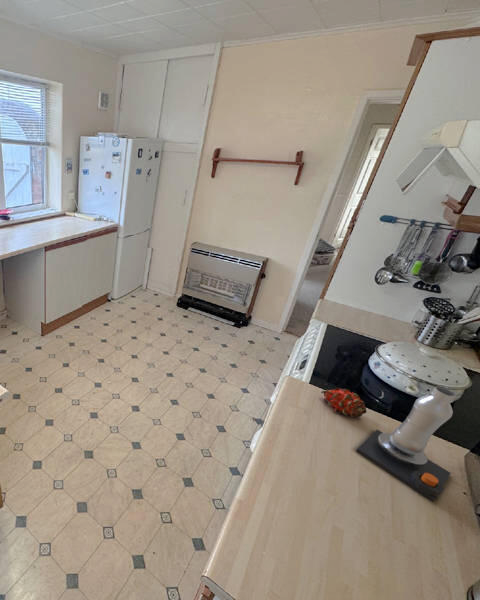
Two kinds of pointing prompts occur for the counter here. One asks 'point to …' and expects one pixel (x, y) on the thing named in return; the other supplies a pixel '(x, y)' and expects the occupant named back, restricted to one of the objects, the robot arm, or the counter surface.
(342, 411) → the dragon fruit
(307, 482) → the counter surface
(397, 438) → the plastic bottle
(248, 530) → the counter surface
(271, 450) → the counter surface
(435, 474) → the scale
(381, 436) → the scale pan
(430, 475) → the tare button
